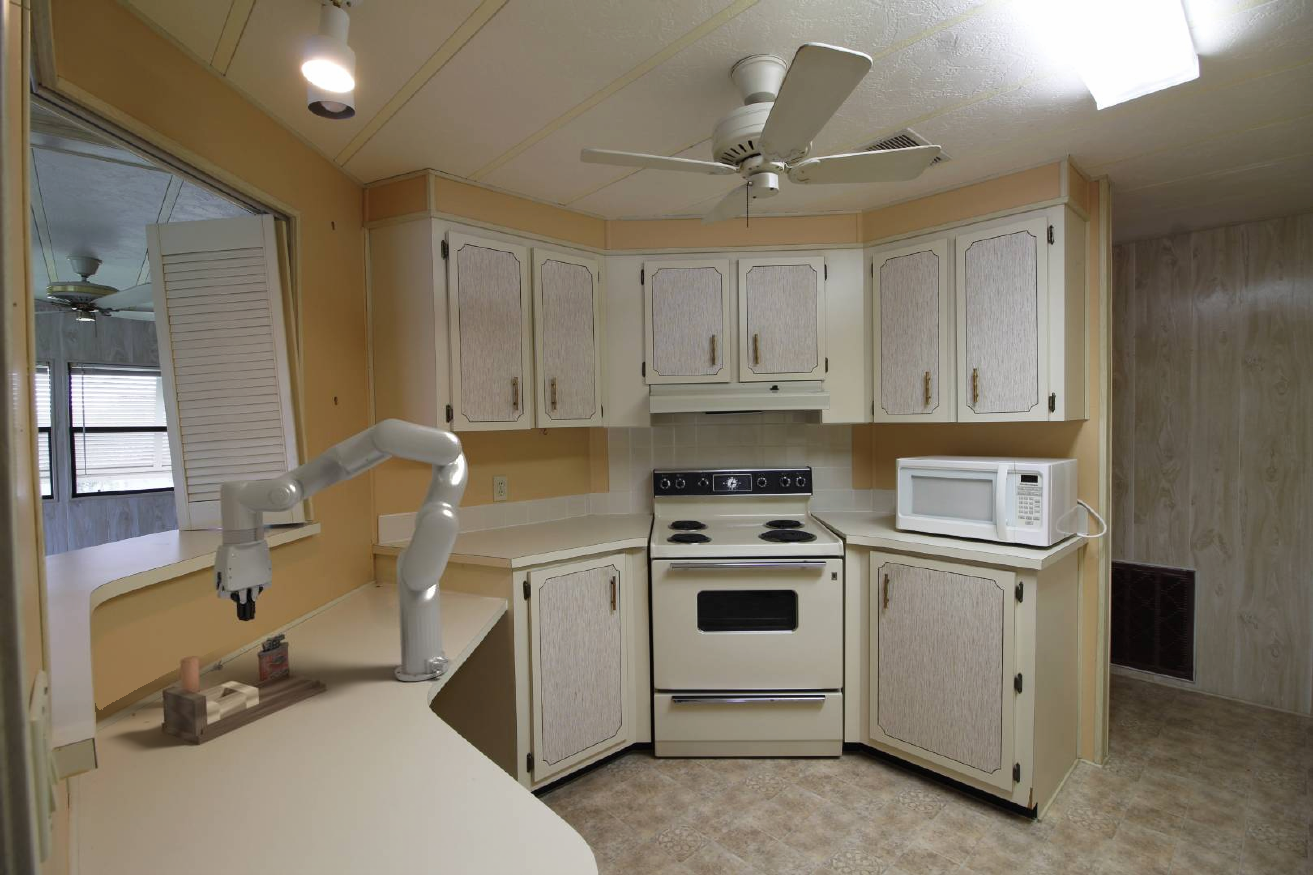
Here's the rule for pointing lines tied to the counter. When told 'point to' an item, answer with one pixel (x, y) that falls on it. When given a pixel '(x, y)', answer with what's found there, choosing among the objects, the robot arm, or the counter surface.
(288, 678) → the rail board
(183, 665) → the dowel
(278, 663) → the lighter
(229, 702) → the block
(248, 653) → the counter surface
